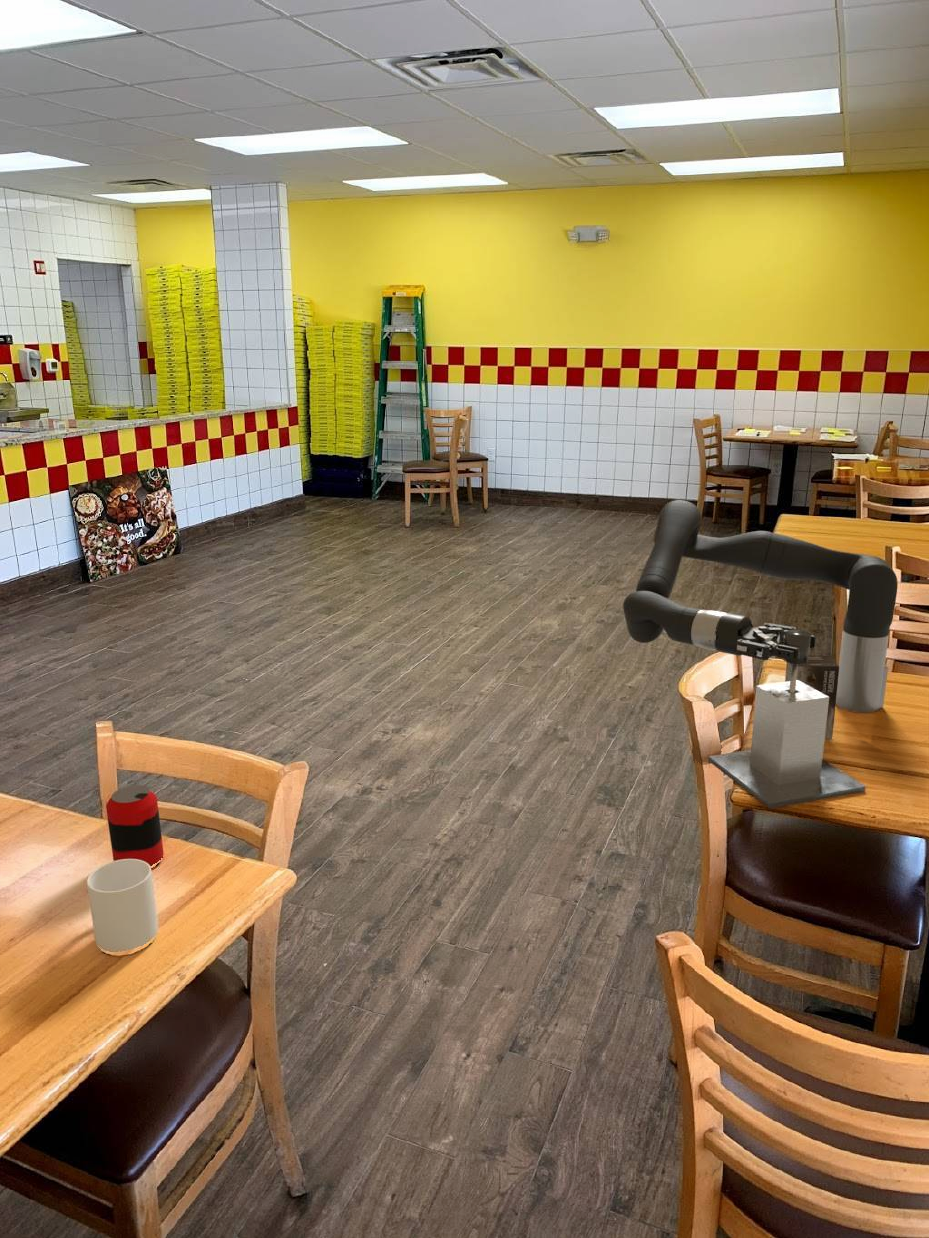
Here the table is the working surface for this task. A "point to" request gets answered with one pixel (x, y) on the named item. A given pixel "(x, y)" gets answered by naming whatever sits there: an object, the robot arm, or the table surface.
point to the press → (787, 750)
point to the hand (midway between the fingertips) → (807, 648)
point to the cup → (122, 904)
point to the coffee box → (820, 682)
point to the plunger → (803, 643)
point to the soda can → (135, 825)
